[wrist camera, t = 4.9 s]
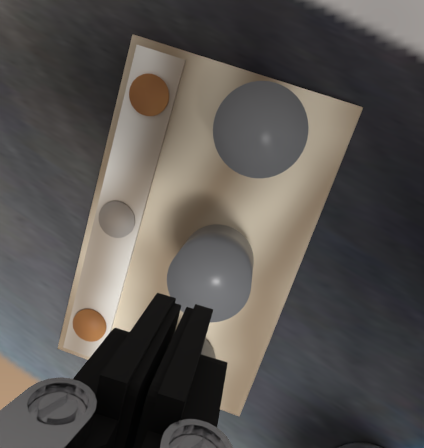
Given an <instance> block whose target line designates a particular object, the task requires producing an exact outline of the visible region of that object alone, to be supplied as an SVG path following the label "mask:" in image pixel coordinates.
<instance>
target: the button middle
mask: <svg viewBox="0 0 424 448" xmlns="http://www.w3.org/2000/svg"><path fill="white" fill-rule="evenodd" d="M253 264H254V256H253V251H252V248H251V246H250V244H249V242H248V240H247V239H246V238H245V237H244V236H243V235H242V234H241V233H240V232H239V231H237V230H236V229H234V228H232V227H229V226H226V225H220V224H214V225H208V226H205V227H202V228H200V229H198V230H197V231H195V232H194V233H193V234H192V235H191V236H190V237H189V239H188V240H187V241H186V243H185V244H184V245H183V247H182V248H181V249H180V251H179V252H178V253H177V255H176V256H175V257H174V259H173V260H172V262H171V264H170V266H169V269H168V273H167V287H168V291H169V294H170V297H174V298H176V301H175V303H176V304H179V305H181V309H180V310H181V311H182V312H183V313H184V311H185V309H186V307H189V308H194V306H195V304H197V305H201V306H204V307H207V308H211V309H213V313H212V317H211V320H210V322H220V321H224V320H227V319H229V318H231V317H233V316H234V315H236V314H237V313H238V312H239V311H241V309H242V308H243V307H244V306H245V304H246V303H247V301H248V298H249V295H250V292H251V284H252V274H253Z"/></svg>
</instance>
